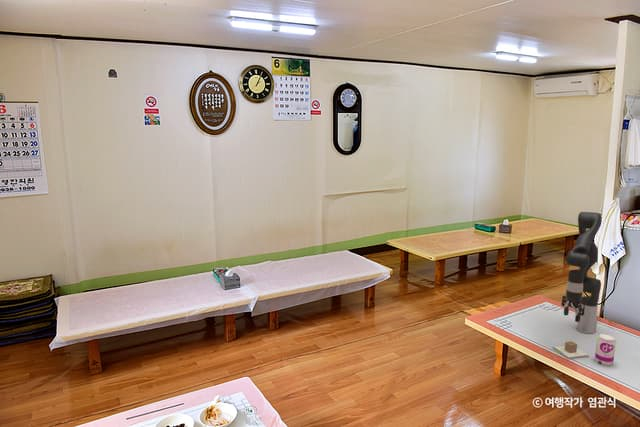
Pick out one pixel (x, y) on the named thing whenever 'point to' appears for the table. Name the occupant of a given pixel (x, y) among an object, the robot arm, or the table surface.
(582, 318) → the robot arm
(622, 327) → the table surface
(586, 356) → the rubber mat
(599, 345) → the supplement can
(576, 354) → the board
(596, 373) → the table surface
